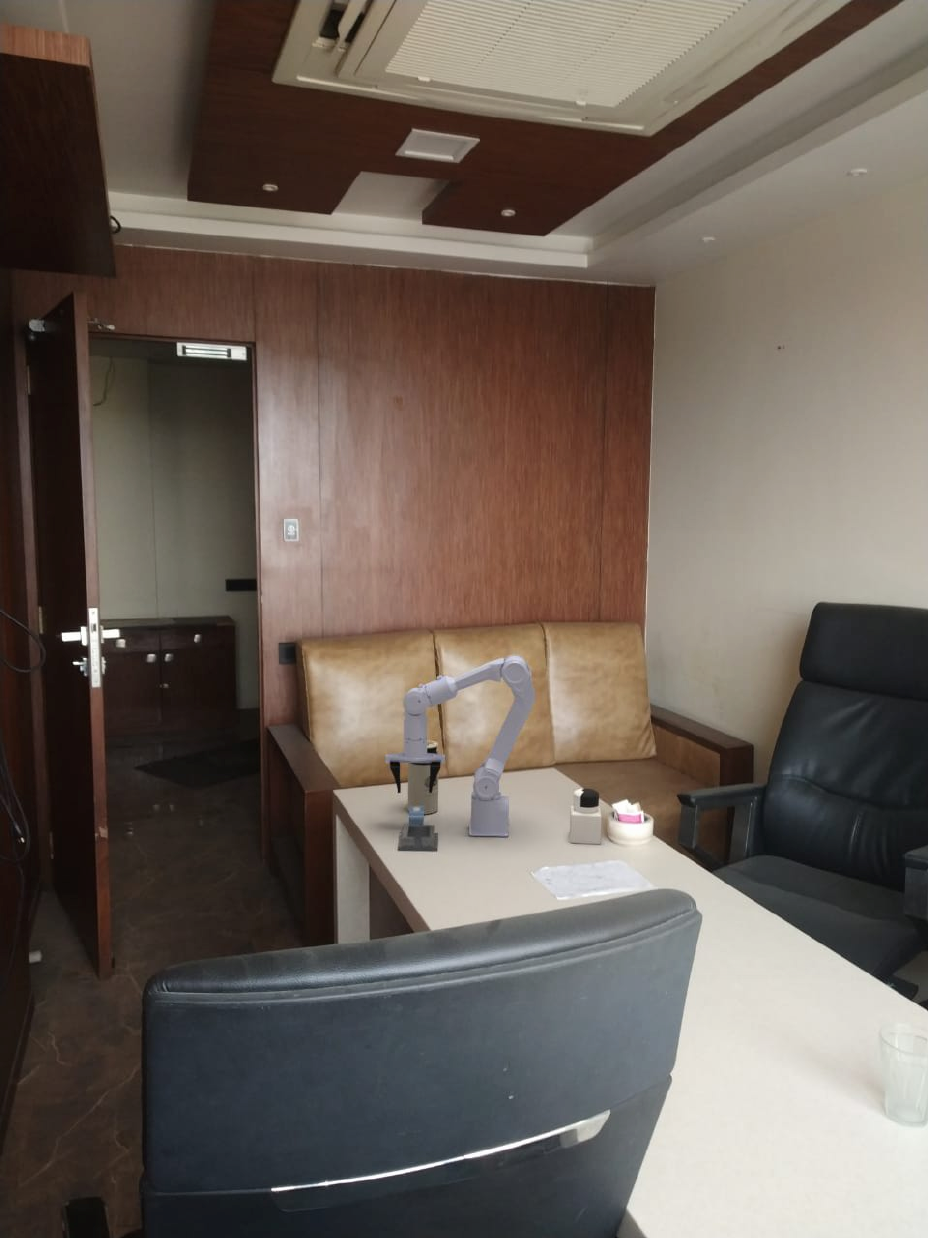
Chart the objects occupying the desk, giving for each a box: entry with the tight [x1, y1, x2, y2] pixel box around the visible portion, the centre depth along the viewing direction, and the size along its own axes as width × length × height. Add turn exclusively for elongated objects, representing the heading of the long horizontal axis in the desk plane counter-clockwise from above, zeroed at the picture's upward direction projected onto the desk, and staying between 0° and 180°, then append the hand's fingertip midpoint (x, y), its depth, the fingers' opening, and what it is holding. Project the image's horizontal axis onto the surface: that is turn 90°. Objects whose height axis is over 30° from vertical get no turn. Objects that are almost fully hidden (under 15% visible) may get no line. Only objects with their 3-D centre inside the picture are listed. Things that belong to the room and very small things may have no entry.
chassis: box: [397, 824, 439, 852], centre depth 206 cm, size 9×10×3 cm
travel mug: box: [407, 739, 439, 815], centre depth 229 cm, size 8×8×18 cm
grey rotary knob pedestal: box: [569, 788, 603, 845], centre depth 211 cm, size 7×7×12 cm
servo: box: [408, 806, 425, 825], centre depth 216 cm, size 4×7×6 cm, turn 0°
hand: (414, 791), depth 215 cm, fingers open, 7 cm apart
